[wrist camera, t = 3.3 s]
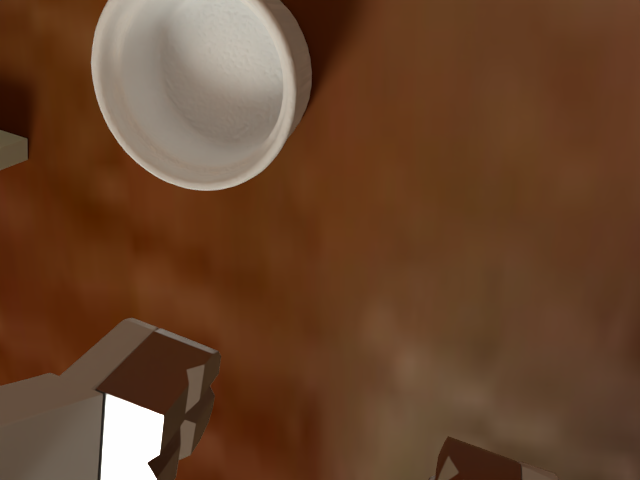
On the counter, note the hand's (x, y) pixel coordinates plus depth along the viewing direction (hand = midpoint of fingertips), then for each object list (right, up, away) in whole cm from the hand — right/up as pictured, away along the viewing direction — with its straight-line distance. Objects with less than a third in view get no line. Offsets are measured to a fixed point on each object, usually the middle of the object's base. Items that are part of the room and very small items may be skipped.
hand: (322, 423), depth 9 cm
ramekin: (-4, +11, +19) cm, 22 cm away
